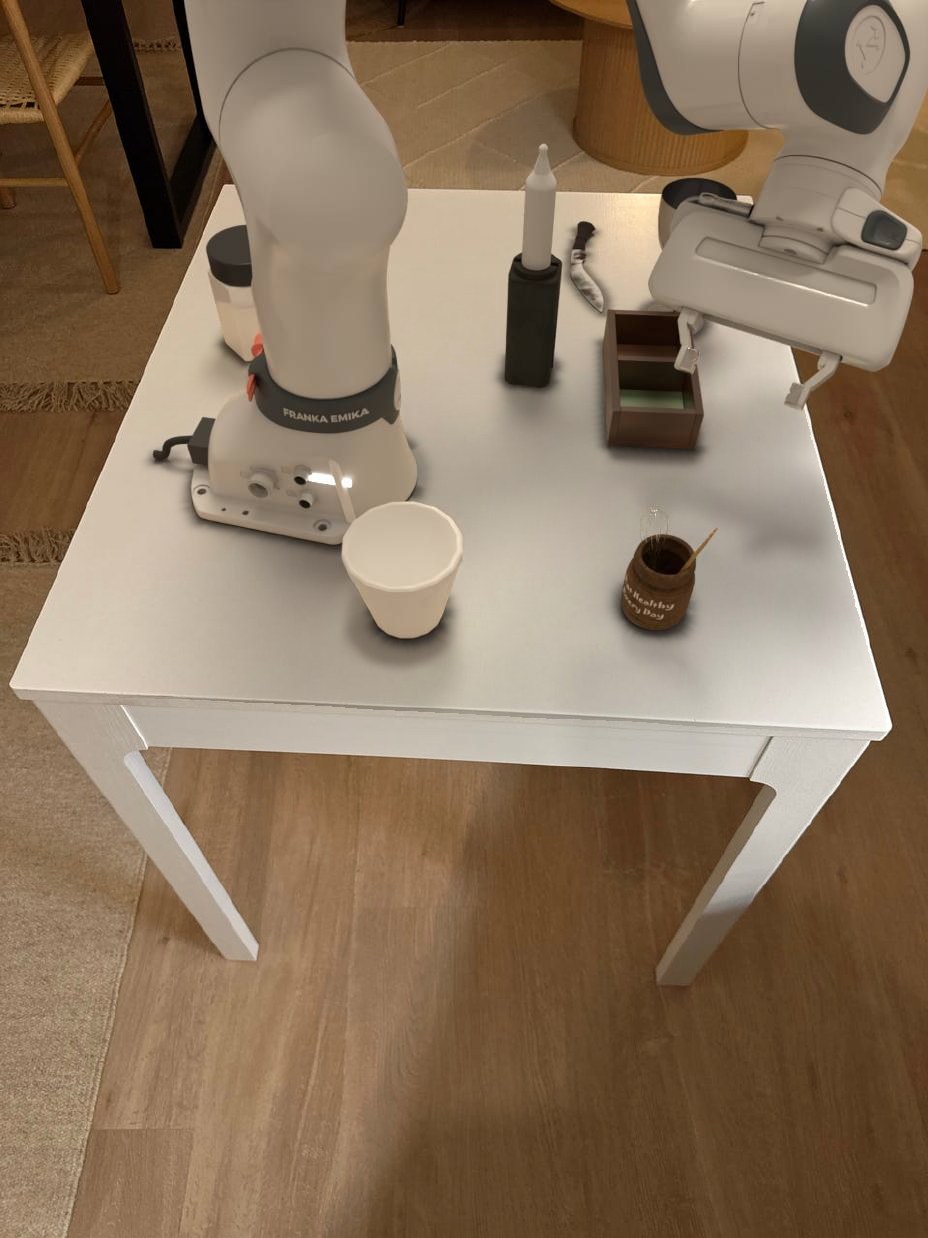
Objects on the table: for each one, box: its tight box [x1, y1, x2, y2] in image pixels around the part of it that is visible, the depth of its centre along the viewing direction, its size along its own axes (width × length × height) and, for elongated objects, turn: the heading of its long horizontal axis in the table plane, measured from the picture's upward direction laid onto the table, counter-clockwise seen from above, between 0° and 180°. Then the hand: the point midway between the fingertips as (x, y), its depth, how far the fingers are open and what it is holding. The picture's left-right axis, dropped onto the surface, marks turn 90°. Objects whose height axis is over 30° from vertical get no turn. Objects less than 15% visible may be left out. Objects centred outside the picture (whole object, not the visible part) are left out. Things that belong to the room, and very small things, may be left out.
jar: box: [205, 224, 260, 362], centre depth 100 cm, size 9×8×12 cm
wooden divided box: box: [602, 308, 705, 450], centre depth 97 cm, size 9×17×5 cm, turn 176°
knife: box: [569, 220, 605, 313], centre depth 113 cm, size 18×1×5 cm
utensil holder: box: [620, 506, 719, 631], centre depth 76 cm, size 6×6×12 cm
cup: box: [341, 501, 464, 640], centre depth 77 cm, size 10×10×9 cm
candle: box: [503, 143, 563, 388], centre depth 91 cm, size 5×5×25 cm
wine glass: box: [645, 177, 738, 336], centre depth 101 cm, size 8×8×15 cm
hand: (736, 388), depth 74 cm, fingers open, 8 cm apart
